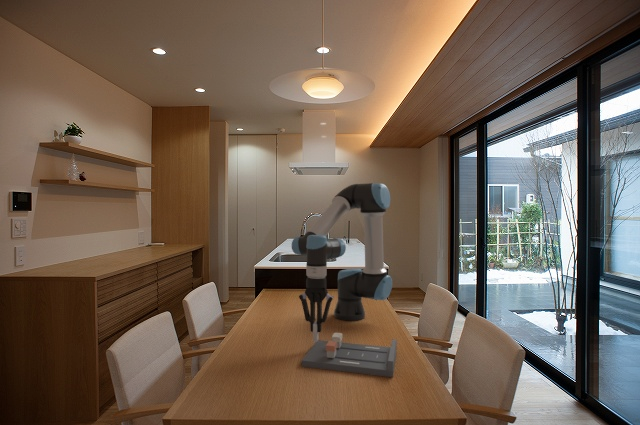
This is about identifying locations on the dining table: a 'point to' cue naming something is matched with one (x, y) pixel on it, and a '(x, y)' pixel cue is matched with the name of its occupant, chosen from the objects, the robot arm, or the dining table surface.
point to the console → (354, 358)
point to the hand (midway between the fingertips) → (315, 340)
